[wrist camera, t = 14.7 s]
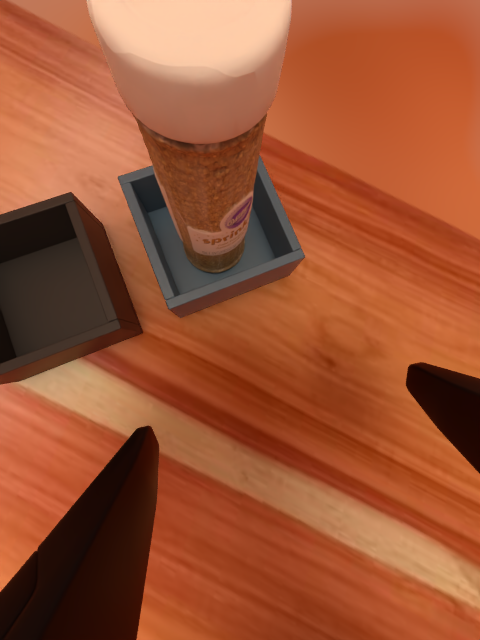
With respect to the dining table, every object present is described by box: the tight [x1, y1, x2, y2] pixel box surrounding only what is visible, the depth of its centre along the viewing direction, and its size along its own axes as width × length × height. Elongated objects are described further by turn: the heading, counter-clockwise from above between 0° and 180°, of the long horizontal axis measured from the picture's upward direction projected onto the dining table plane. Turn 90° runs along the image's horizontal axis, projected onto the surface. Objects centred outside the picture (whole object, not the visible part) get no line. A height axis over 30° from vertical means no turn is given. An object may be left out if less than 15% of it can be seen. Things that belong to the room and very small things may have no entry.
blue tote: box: [118, 155, 305, 318], centre depth 17 cm, size 9×9×4 cm
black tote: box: [0, 192, 143, 384], centre depth 16 cm, size 9×9×4 cm
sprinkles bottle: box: [86, 0, 292, 273], centre depth 12 cm, size 5×5×13 cm
